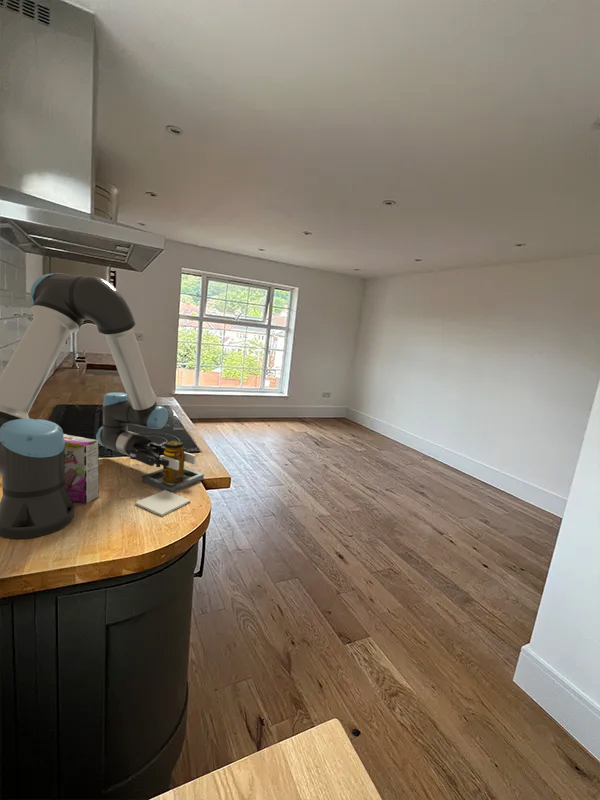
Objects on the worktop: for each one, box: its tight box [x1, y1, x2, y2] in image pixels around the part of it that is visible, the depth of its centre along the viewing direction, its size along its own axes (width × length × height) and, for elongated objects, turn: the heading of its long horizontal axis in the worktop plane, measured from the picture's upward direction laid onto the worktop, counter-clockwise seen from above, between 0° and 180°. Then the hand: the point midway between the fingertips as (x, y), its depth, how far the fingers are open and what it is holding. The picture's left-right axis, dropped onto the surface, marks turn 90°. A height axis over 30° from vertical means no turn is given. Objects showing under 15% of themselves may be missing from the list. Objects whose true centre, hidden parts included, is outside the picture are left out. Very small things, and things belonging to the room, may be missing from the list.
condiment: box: [156, 440, 191, 485], centre depth 115 cm, size 7×8×12 cm
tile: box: [134, 490, 192, 517], centre depth 101 cm, size 10×10×1 cm
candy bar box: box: [63, 433, 100, 505], centre depth 98 cm, size 11×5×16 cm, turn 79°
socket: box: [141, 466, 205, 493], centre depth 115 cm, size 13×12×2 cm
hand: (186, 462), depth 112 cm, fingers closed on condiment, 6 cm apart
